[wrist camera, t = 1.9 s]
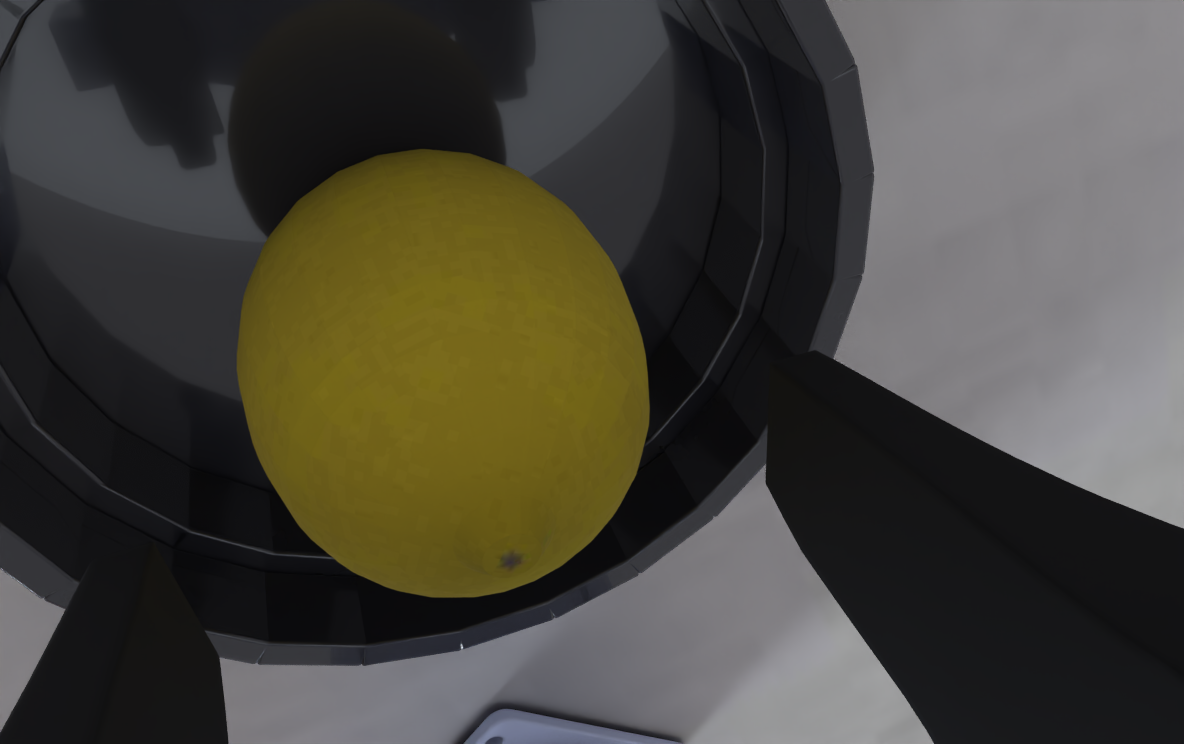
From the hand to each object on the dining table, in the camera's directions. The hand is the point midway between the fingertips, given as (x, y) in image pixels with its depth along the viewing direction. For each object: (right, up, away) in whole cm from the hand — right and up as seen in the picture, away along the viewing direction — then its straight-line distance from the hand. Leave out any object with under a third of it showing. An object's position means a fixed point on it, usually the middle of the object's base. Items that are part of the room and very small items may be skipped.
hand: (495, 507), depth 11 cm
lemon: (-2, +4, +6) cm, 7 cm away
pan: (-2, +4, +6) cm, 8 cm away
